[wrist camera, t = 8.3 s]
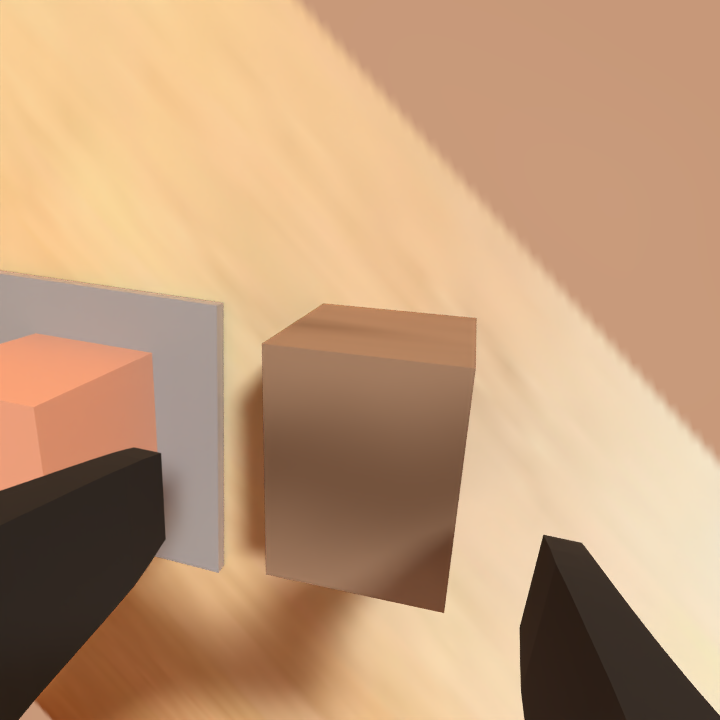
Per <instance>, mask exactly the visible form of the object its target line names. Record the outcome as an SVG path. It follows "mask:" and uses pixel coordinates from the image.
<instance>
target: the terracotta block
mask: <svg viewBox="0 0 720 720" xmlns="http://www.w3.org/2000/svg"><path fill="white" fill-rule="evenodd" d="M133 447H135V448H140V449H144V450H149V451H154V452H157V434H156V416H155V397H154V379H153V361H152V353H150V352H144V351H138V350H132V349H126V348H120V347H115V346H109V345H103V344H97V343H91V342H85V341H79V340H73V339H67V338H61V337H55V336H49V335H43V334H37V333H35V334H32V335H28V336H25V337H22V338H18V339H15V340H11V341H8V342H5V343H1V344H0V491H1V490H4V489H7V488H10V487H13V486H16V485H18V484H21V483H24V482H27V481H30V480H33V479H36V478H39V477H42V476H45V475H48V474H51V473H53V472H56V471H59V470H62V469H65V468H68V467H71V466H74V465H77V464H80V463H83V462H86V461H89V460H92V459H95V458H98V457H101V456H104V455H107V454H110V453H114V452H117V451H121V450H125V449H129V448H133Z"/></svg>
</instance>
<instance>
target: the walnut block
mask: <svg viewBox="0 0 720 720" xmlns="http://www.w3.org/2000/svg"><path fill="white" fill-rule="evenodd" d="M476 319H477V318H469V317H458V316H448V315H437V314H427V313H417V312H406V311H396V310H385V309H375V308H365V307H354V306H344V305H333V304H322V305H320V306H319V307H317V308H316V309H314V310H313V311H311V312H310V313H308V314H307V315H305V316H304V317H302V318H301V319H299V320H298V321H296V322H294V323H293V324H291V325H290V326H288V327H287V328H285V329H284V330H282V331H281V332H279V333H278V334H276V335H275V336H273V337H271V338H270V339H268V340H267V341H265V342H264V343H262V372H263V430H264V489H265V547H266V575H271V576H276V577H280V578H285V579H289V580H294V581H299V582H303V583H308V584H313V585H317V586H322V587H326V588H331V589H336V590H340V591H345V592H350V593H354V594H359V595H363V596H368V597H373V598H377V599H382V600H387V601H391V602H396V603H400V604H405V605H410V606H414V607H419V608H424V609H428V610H433V611H437V612H442V613H444V609H445V601H446V593H447V585H448V578H449V570H450V562H451V555H452V547H453V539H454V531H455V524H456V516H457V508H458V500H459V493H460V485H461V477H462V470H463V462H464V454H465V446H466V439H467V431H468V423H469V415H470V408H471V400H472V392H473V385H474V377H475V369H476Z"/></svg>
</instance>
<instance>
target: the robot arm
mask: <svg viewBox="0 0 720 720" xmlns="http://www.w3.org/2000/svg"><path fill="white" fill-rule="evenodd" d="M165 540H166V535H165V516H164V497H163V478H162V459H161V453H158V452H154V451H149V450H144V449H140V448H135V447H133V448H129V449H125V450H121V451H117V452H114V453H110V454H107V455H104V456H101V457H98V458H95V459H92V460H89V461H86V462H83V463H80V464H77V465H74V466H71V467H68V468H65V469H62V470H59V471H56V472H53V473H51V474H48V475H45V476H42V477H39V478H36V479H33V480H30V481H27V482H24V483H21V484H18V485H16V486H13V487H10V488H7V489H4V490H1V491H0V720H19V719H20V717H21V716H22V715H23V714H24V712H25V711H26V710H27V709H28V708H29V706H30V705H31V704H32V703H33V702H34V700H35V699H36V698H37V697H38V696H39V694H40V693H41V692H42V691H43V690H44V689H45V688H46V686H47V685H48V684H49V683H50V682H51V681H52V680H53V679H54V677H55V676H56V675H57V674H58V673H59V672H60V671H61V669H62V668H63V667H64V666H65V665H66V664H67V663H68V661H69V660H70V659H71V658H72V657H73V656H74V655H75V653H76V652H77V651H78V650H79V649H80V648H81V647H82V646H83V644H84V643H85V642H86V641H87V640H88V639H89V638H90V636H91V635H92V634H93V633H94V632H95V631H96V630H97V629H98V627H99V626H100V625H101V624H102V623H103V622H104V621H105V619H106V618H107V617H108V616H109V615H110V614H111V612H112V611H113V610H114V609H115V608H116V607H117V605H118V604H119V603H120V602H121V601H122V600H123V599H124V597H125V596H126V595H127V594H128V593H129V591H130V590H131V589H132V588H133V587H134V585H135V584H136V583H137V581H138V580H139V578H140V577H141V575H142V574H143V573H144V571H145V570H146V568H147V567H148V566H149V564H150V563H151V561H152V559H153V558H154V556H155V555H156V553H157V552H158V550H159V549H160V547H161V546H162V544H163V543H164V541H165ZM520 671H521V694H522V703H523V711H524V719H525V720H720V715H719V714H718V713H717V712H716V711H715V710H714V709H713V707H712V706H711V705H710V704H709V703H708V702H707V701H706V699H705V698H704V697H703V696H702V695H701V694H700V693H699V691H698V690H697V689H696V688H695V687H694V686H693V684H692V683H691V682H690V681H689V680H688V678H687V677H686V676H685V675H684V674H683V672H682V671H681V670H680V669H679V668H678V666H677V665H676V664H675V663H674V662H673V660H672V659H671V658H670V657H669V656H668V654H667V653H666V652H665V651H664V649H663V648H662V647H661V646H660V644H659V643H658V642H657V641H656V639H655V638H654V637H653V636H652V634H651V633H650V632H649V631H648V629H647V628H646V627H645V626H644V624H643V623H642V622H641V620H640V619H639V618H638V616H637V615H636V614H635V613H634V611H633V610H632V609H631V607H630V606H629V605H628V603H627V602H626V601H625V600H624V598H623V597H622V596H621V594H620V593H619V592H618V590H617V589H616V588H615V586H614V585H613V584H612V582H611V581H610V580H609V578H608V577H607V576H606V574H605V573H604V572H603V570H602V569H601V568H600V566H599V565H598V564H597V562H596V561H595V560H594V558H593V557H592V556H591V554H590V553H589V552H588V550H587V549H586V548H585V546H584V545H583V544H582V543H579V542H575V541H570V540H565V539H561V538H556V537H551V536H547V535H543V539H542V543H541V547H540V550H539V554H538V558H537V562H536V566H535V570H534V574H533V578H532V582H531V586H530V590H529V593H528V597H527V601H526V605H525V609H524V613H523V617H522V621H521V625H520Z"/></svg>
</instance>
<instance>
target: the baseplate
mask: <svg viewBox="0 0 720 720" xmlns="http://www.w3.org/2000/svg"><path fill="white" fill-rule="evenodd" d="M35 333H37V334H43V335H49V336H55V337H61V338H67V339H73V340H79V341H85V342H91V343H97V344H103V345H109V346H115V347H120V348H126V349H132V350H138V351H144V352H150V353H152V361H153V379H154V397H155V416H156V434H157V452H158V453H161V459H162V478H163V497H164V516H165V535H166V540H165V541H164V543H163V544H162V546H161V547H160V549H159V550H158V552H157V553H156V555H155V556H156V557H159V558H163V559H167V560H171V561H175V562H179V563H183V564H187V565H191V566H194V567H198V568H202V569H206V570H210V571H214V572H218V573H219V571H220V570H221V569H222V567H223V566H224V404H223V303H220V302H213V301H206V300H200V299H193V298H186V297H179V296H172V295H165V294H158V293H151V292H145V291H138V290H131V289H124V288H117V287H110V286H103V285H96V284H90V283H83V282H76V281H69V280H62V279H55V278H48V277H41V276H35V275H28V274H21V273H14V272H7V271H0V344H1V343H5V342H8V341H11V340H15V339H18V338H22V337H25V336H28V335H32V334H35Z"/></svg>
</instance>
